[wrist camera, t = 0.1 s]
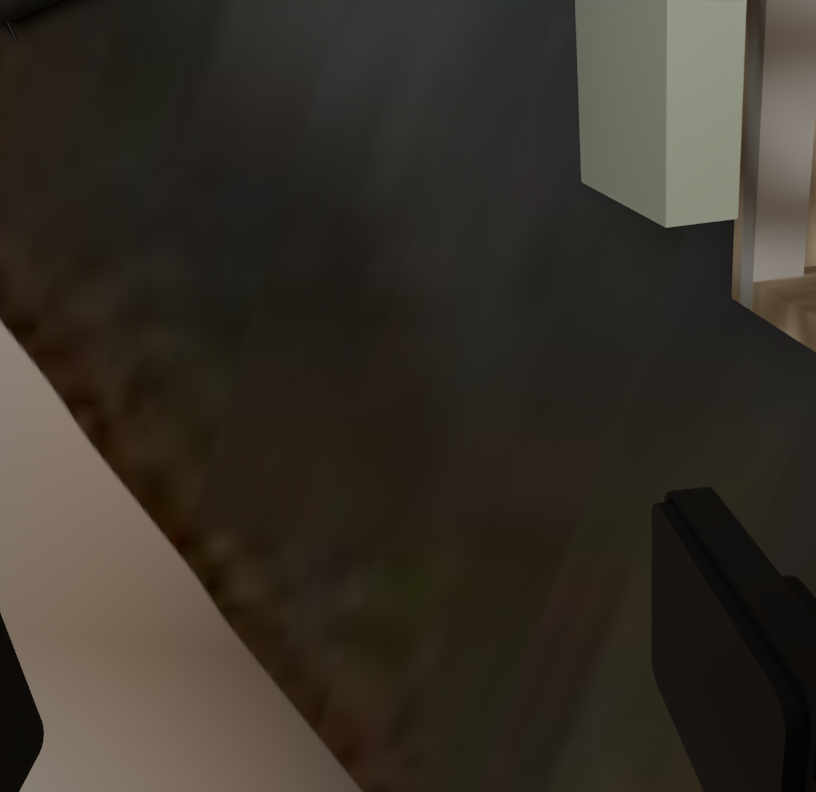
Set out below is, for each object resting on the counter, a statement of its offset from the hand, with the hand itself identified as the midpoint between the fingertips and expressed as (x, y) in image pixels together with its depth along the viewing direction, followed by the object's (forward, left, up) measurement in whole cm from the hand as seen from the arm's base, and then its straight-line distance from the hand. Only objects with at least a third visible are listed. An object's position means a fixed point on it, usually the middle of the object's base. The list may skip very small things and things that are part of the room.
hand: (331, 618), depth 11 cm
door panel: (-7, +12, -31) cm, 34 cm away
